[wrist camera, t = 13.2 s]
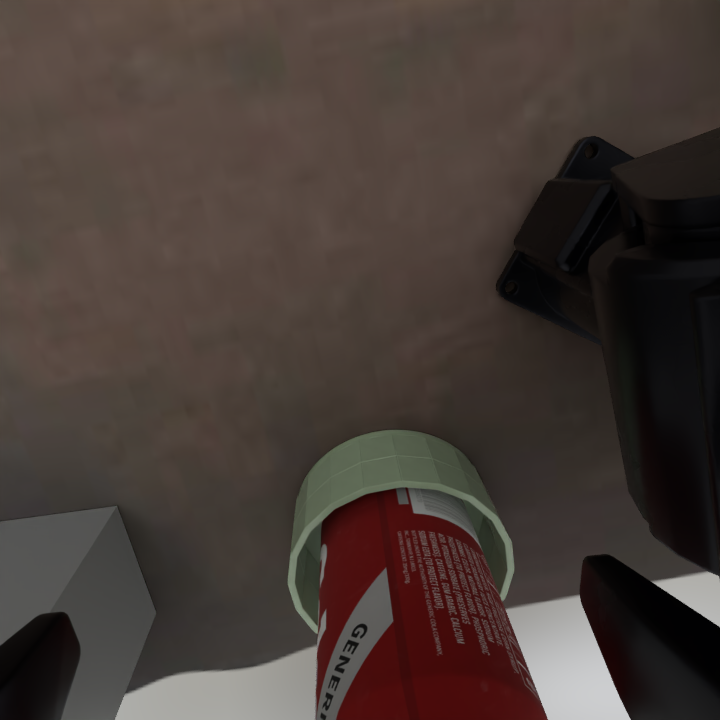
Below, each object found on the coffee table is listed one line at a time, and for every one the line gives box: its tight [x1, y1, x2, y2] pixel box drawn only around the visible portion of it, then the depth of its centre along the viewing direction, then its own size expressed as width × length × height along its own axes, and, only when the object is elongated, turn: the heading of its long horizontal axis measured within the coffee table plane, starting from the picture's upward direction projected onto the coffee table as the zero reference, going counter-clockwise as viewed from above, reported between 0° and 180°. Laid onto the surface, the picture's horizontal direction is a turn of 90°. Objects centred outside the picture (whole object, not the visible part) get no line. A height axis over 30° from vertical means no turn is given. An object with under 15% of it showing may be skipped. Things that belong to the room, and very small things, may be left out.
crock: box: [287, 430, 514, 634], centre depth 22 cm, size 9×9×4 cm
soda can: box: [315, 487, 548, 720], centre depth 18 cm, size 7×7×12 cm
